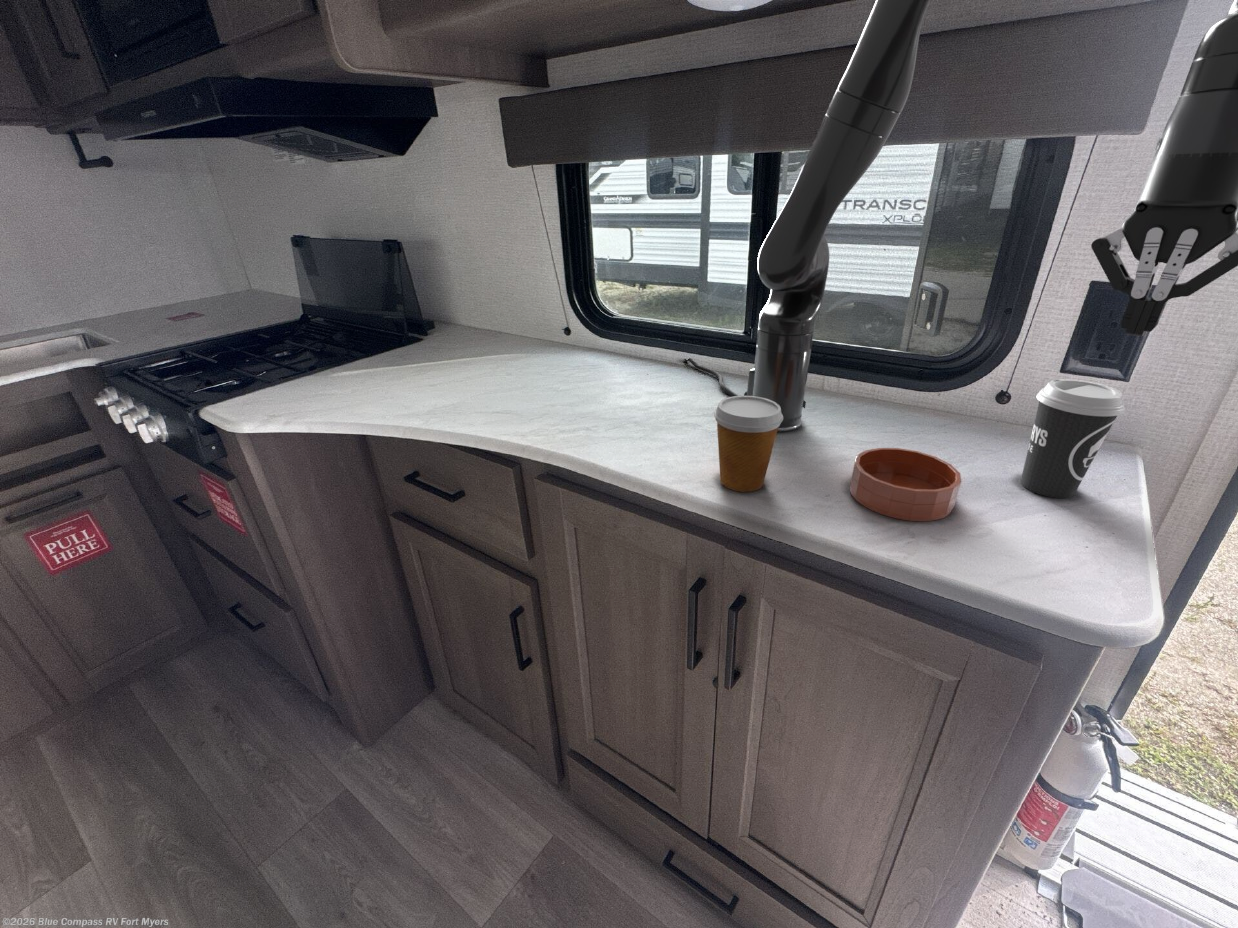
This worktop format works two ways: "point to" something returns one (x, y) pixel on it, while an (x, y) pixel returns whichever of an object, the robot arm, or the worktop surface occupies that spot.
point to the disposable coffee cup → (746, 440)
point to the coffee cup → (1068, 434)
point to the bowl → (905, 484)
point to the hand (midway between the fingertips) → (1134, 334)
